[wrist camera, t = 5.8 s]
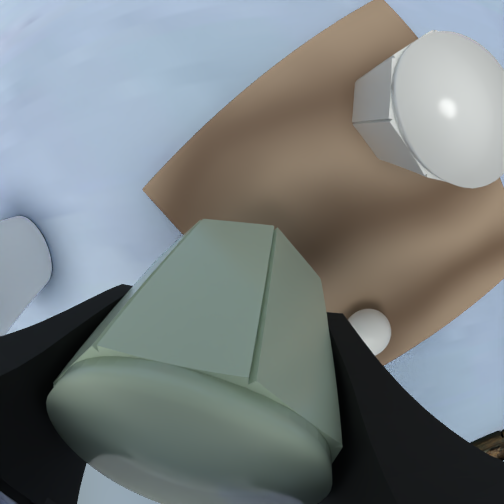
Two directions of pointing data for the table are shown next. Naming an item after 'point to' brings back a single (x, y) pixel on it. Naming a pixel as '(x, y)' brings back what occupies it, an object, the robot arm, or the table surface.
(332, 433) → the sage green acorn nut
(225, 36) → the table surface
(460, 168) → the white acorn nut
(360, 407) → the robot arm
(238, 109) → the walnut board
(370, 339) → the white marble
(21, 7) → the table surface
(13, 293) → the cup
